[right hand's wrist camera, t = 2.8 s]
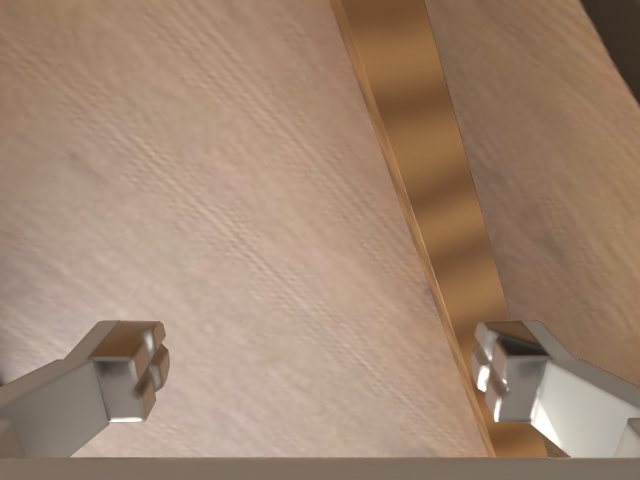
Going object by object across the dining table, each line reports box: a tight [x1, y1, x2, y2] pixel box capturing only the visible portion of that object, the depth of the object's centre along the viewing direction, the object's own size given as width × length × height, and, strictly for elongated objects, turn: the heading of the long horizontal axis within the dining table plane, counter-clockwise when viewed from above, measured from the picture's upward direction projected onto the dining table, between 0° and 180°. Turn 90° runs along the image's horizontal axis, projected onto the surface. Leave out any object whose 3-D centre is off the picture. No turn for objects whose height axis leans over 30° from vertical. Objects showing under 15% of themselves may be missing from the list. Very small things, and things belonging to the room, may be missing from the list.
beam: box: [329, 0, 548, 458], centre depth 35 cm, size 71×5×6 cm, turn 22°
